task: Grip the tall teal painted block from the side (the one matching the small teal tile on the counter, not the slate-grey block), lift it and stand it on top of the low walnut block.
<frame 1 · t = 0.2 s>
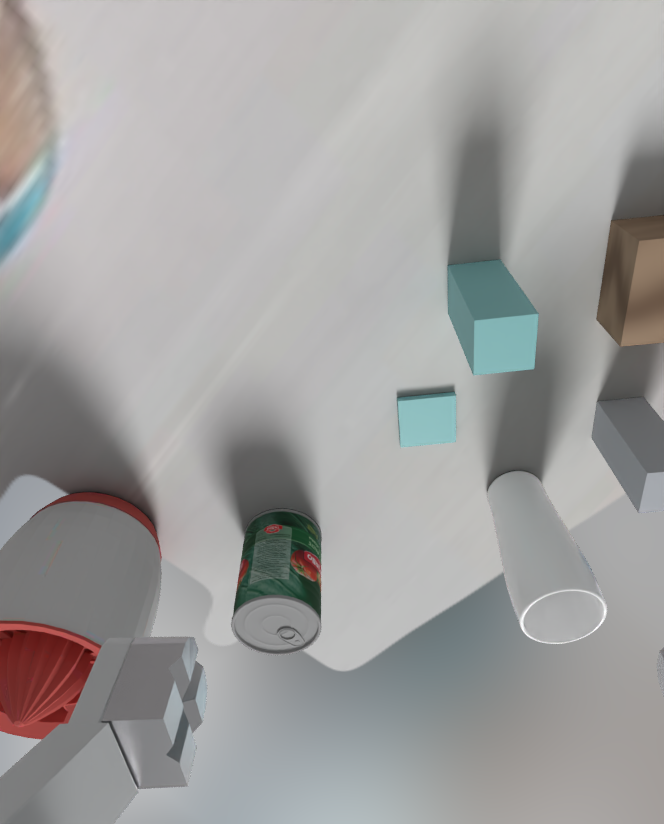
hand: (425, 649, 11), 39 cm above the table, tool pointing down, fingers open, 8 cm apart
canned tomato: (283, 535, 63), on the table
drinking glass: (512, 488, 59), on the table
citrus juicer: (106, 537, 62), on the table
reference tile: (426, 418, 54), on the table
teal block: (473, 287, 48), on the table
grey block: (616, 417, 55), on the table
base block: (654, 266, 47), on the table
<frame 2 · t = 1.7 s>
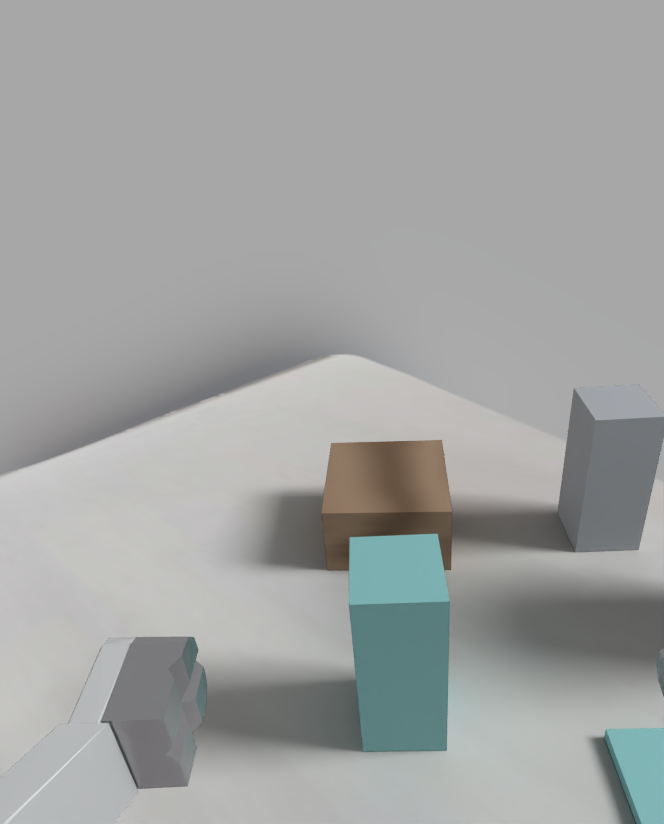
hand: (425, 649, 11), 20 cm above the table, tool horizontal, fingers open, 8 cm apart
teal block: (401, 712, 31), on the table
grey block: (596, 530, 41), on the table
base block: (388, 531, 43), on the table
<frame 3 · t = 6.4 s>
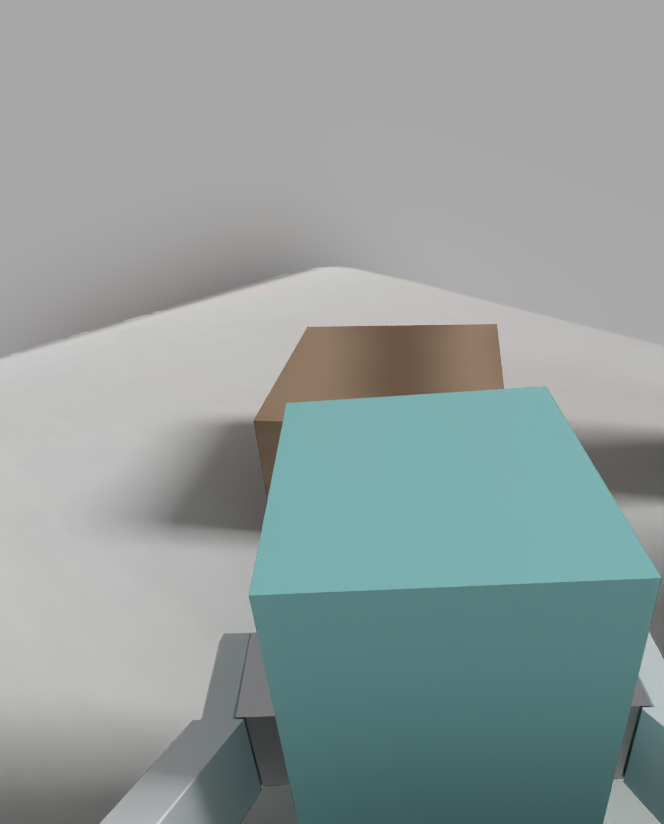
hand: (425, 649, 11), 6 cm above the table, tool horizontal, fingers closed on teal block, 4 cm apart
base block: (394, 477, 25), on the table
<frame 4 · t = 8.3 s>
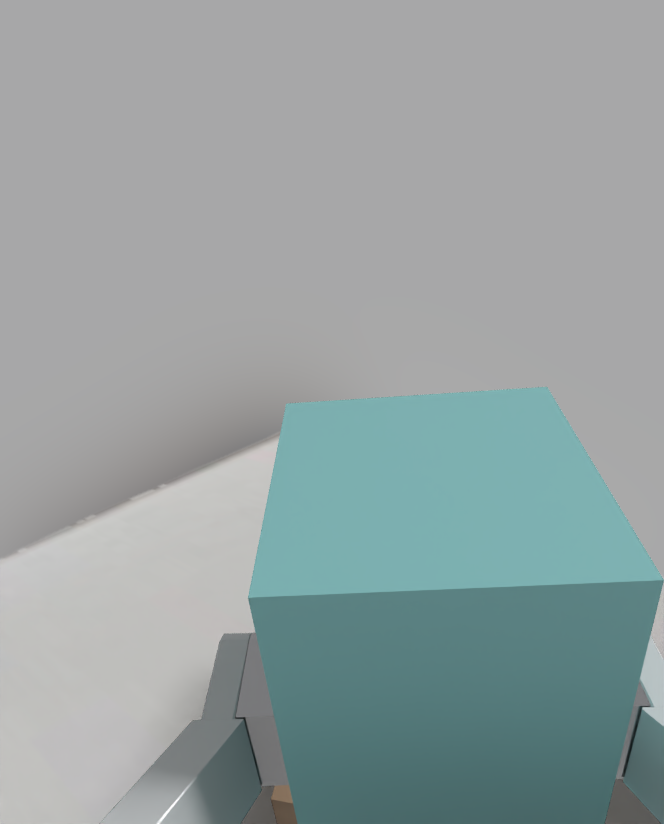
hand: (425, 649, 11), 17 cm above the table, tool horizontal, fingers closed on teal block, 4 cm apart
base block: (408, 783, 25), on the table
when the fingers open (12 cm above the table, at t = 10.5 s): teal block drops 1 cm, resting on base block.
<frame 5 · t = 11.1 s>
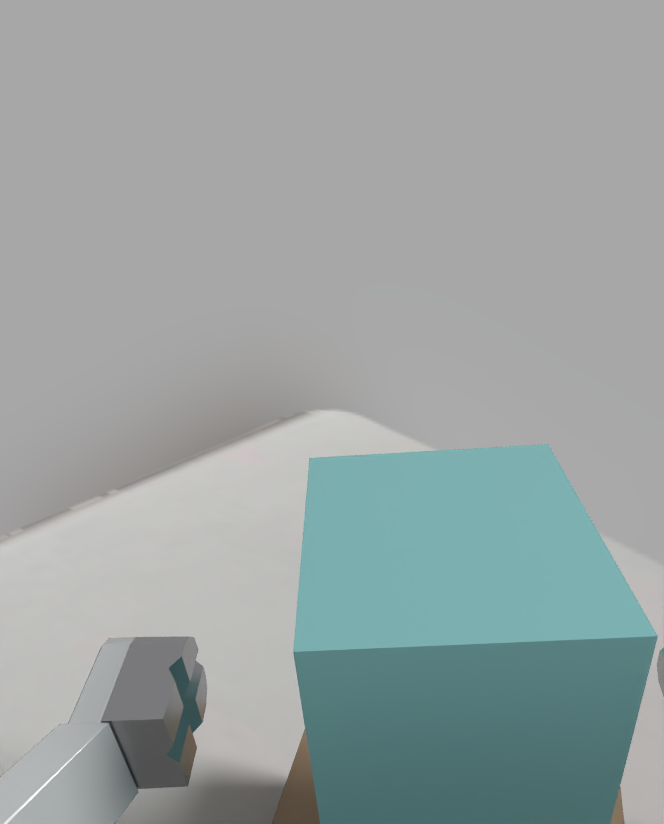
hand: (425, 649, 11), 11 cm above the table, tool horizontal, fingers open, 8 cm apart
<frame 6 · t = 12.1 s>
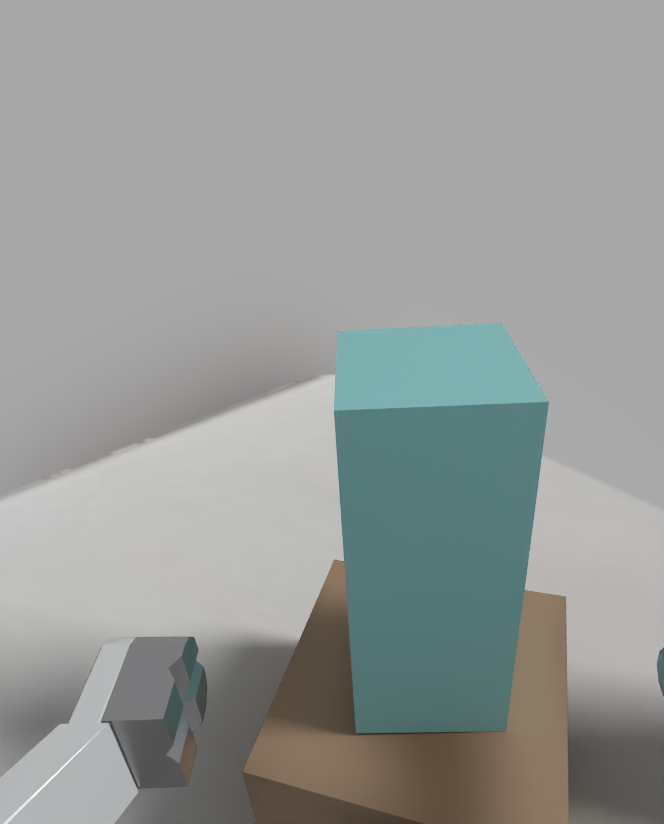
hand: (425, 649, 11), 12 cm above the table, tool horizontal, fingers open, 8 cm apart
teal block: (422, 668, 18), point 5 cm above the table, touching base block
base block: (424, 771, 20), on the table, touching teal block
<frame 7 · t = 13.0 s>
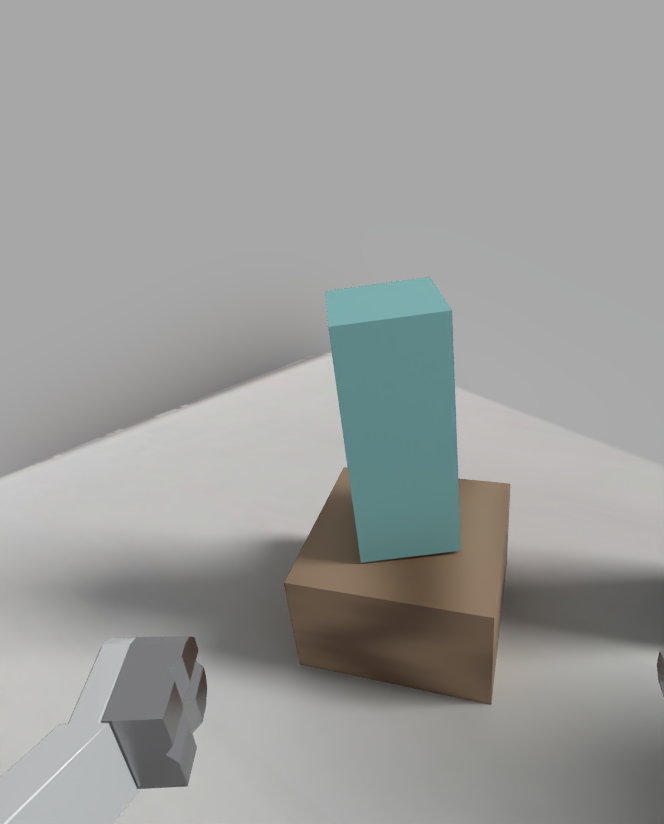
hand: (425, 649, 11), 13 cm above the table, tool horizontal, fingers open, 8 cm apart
teal block: (403, 525, 26), point 5 cm above the table, touching base block
base block: (410, 612, 28), on the table, touching teal block
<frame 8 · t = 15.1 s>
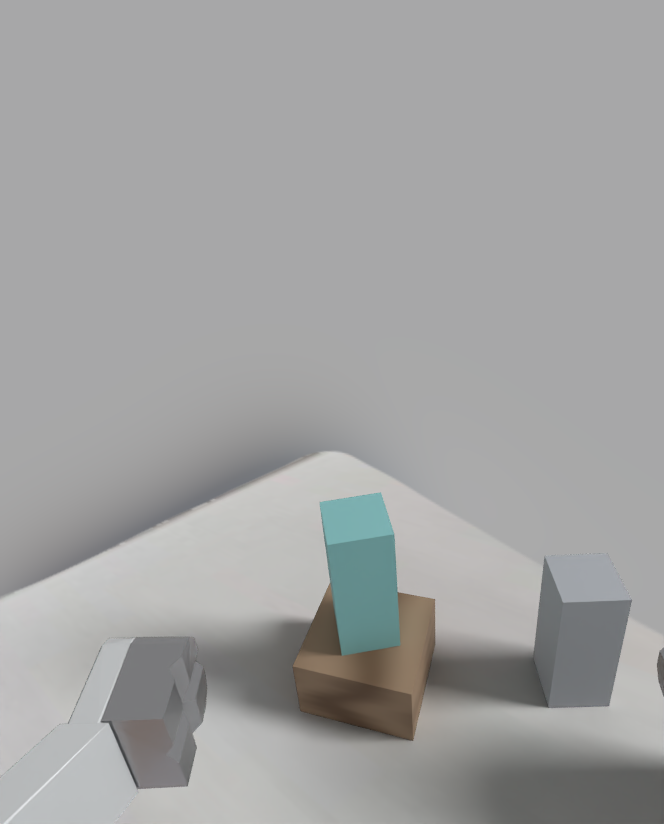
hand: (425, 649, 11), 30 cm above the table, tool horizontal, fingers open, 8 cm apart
teal block: (365, 626, 43), point 5 cm above the table, touching base block
grey block: (569, 680, 43), on the table
base block: (371, 678, 45), on the table, touching teal block
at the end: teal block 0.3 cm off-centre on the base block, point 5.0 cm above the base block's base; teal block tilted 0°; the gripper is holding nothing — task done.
